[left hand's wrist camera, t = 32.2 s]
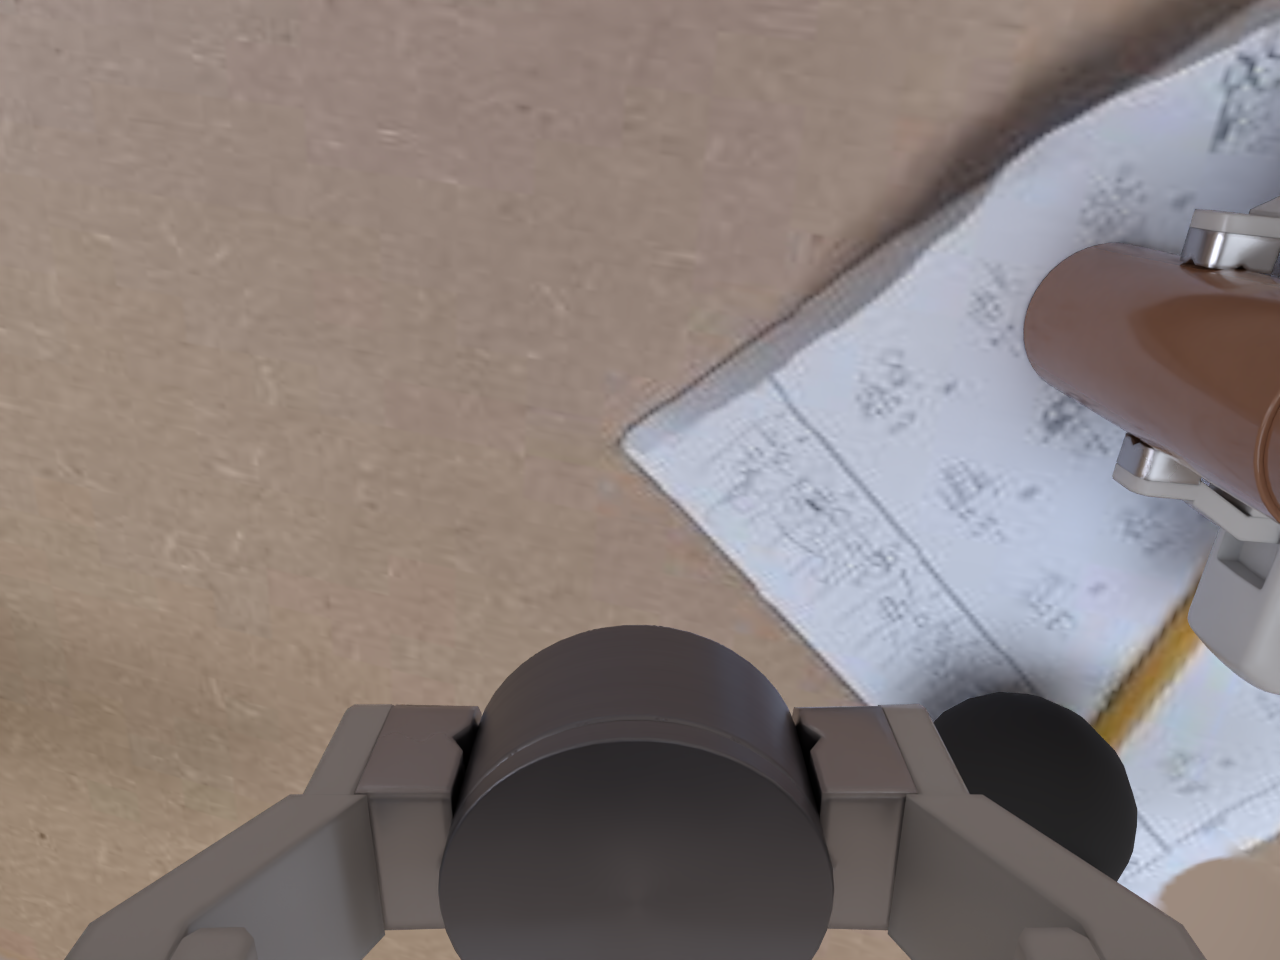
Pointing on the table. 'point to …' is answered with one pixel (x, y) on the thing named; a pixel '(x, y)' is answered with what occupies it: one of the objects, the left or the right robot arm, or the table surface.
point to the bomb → (1045, 773)
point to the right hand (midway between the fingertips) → (1160, 356)
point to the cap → (636, 811)
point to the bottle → (1170, 359)
